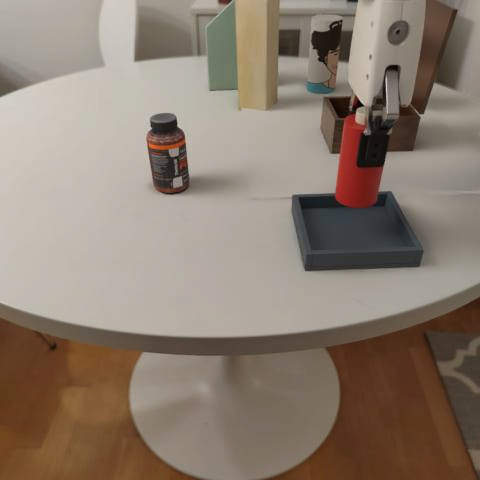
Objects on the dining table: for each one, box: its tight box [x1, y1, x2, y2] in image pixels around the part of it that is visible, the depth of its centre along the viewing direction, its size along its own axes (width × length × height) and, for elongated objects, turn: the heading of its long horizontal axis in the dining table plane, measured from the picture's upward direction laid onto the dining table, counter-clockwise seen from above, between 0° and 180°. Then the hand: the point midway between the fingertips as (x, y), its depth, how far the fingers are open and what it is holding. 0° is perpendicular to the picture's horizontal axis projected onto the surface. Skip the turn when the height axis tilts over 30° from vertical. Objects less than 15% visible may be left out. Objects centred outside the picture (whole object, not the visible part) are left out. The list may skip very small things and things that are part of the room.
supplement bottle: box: [145, 112, 190, 194], centre depth 71 cm, size 6×6×11 cm
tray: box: [291, 190, 425, 271], centre depth 62 cm, size 15×15×3 cm
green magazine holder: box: [204, 0, 238, 91], centre depth 107 cm, size 16×8×20 cm, turn 96°
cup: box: [306, 13, 344, 95], centre depth 104 cm, size 7×7×15 cm
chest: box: [320, 95, 422, 155], centre depth 84 cm, size 15×12×7 cm
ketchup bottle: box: [334, 106, 385, 208], centre depth 56 cm, size 5×5×11 cm
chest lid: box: [410, 0, 459, 115], centre depth 76 cm, size 15×12×1 cm
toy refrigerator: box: [235, 0, 281, 112], centre depth 95 cm, size 8×7×21 cm
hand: (363, 153), depth 55 cm, fingers closed on ketchup bottle, 5 cm apart
